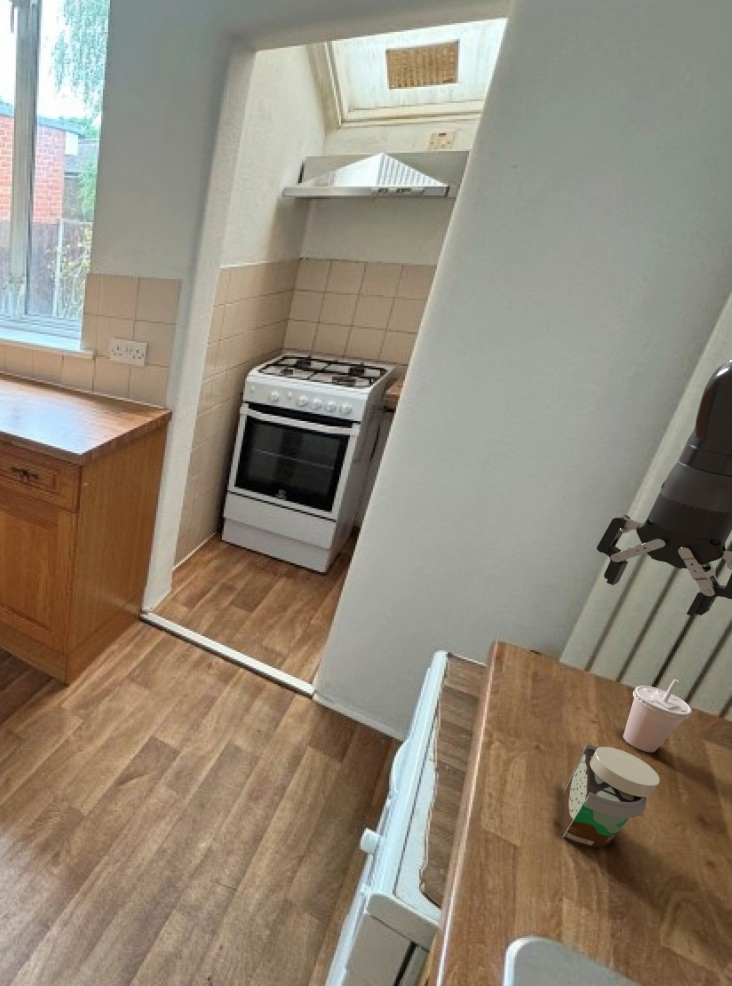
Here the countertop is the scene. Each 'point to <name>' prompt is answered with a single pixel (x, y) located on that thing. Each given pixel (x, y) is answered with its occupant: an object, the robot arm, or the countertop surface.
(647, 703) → the smoothie
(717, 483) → the robot arm
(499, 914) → the countertop surface
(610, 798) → the food container
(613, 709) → the countertop surface
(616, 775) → the cream round lid
